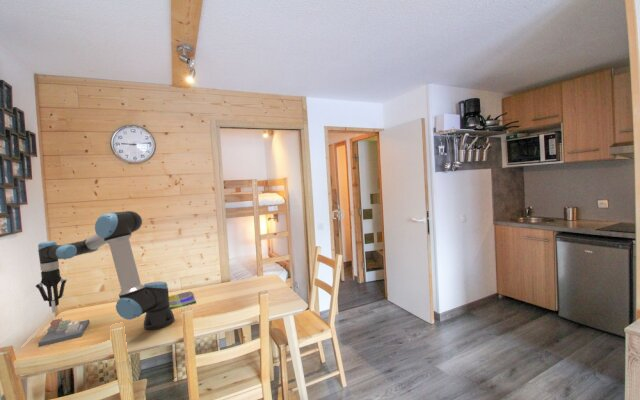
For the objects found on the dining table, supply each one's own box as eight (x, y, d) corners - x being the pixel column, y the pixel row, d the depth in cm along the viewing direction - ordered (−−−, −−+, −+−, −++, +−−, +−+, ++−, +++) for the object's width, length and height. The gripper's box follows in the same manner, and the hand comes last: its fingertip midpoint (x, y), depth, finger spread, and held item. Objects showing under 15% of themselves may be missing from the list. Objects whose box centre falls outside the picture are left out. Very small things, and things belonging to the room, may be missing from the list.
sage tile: (68, 327, 160) (68, 321, 160) (59, 329, 158) (58, 323, 158) (70, 324, 163) (70, 319, 163) (61, 326, 162) (60, 321, 161)
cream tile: (77, 328, 157) (77, 323, 157) (68, 331, 155) (67, 325, 155) (79, 326, 160) (79, 320, 160) (70, 328, 159) (69, 322, 158)
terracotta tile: (60, 325, 163) (59, 320, 163) (50, 328, 161) (50, 322, 161) (62, 323, 166) (61, 317, 166) (53, 325, 164) (52, 319, 164)
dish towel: (166, 311, 183) (165, 307, 183) (165, 300, 204) (165, 296, 204) (196, 304, 191) (196, 300, 191) (193, 293, 213) (192, 290, 213)
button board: (81, 336, 156) (80, 329, 156) (38, 346, 148) (37, 339, 148) (89, 322, 174) (88, 316, 174) (51, 331, 166) (50, 324, 166)
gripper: (67, 266, 169) (71, 306, 170) (36, 270, 163) (41, 312, 164) (63, 268, 162) (68, 310, 163) (31, 273, 156) (36, 317, 157)
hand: (54, 311), depth 163 cm, fingers closed
